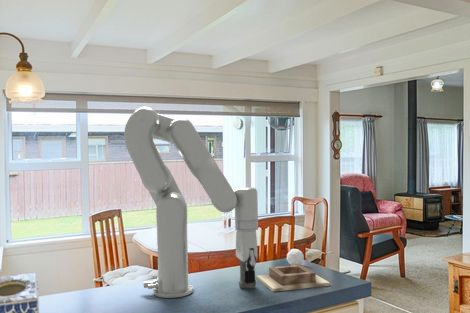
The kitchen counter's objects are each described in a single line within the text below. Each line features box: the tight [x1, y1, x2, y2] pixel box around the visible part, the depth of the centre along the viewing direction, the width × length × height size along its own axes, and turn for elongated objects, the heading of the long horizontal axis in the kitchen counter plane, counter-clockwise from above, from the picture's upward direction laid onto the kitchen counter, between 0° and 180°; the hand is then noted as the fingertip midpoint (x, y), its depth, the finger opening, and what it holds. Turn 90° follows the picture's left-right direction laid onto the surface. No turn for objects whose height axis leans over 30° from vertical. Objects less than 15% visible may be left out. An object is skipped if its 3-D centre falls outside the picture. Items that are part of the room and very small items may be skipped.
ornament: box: [286, 248, 305, 265], centre depth 168 cm, size 6×7×7 cm
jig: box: [256, 264, 331, 292], centre depth 146 cm, size 20×16×4 cm
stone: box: [238, 259, 257, 289], centre depth 141 cm, size 3×6×10 cm, turn 82°
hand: (247, 280), depth 141 cm, fingers closed on stone, 4 cm apart
